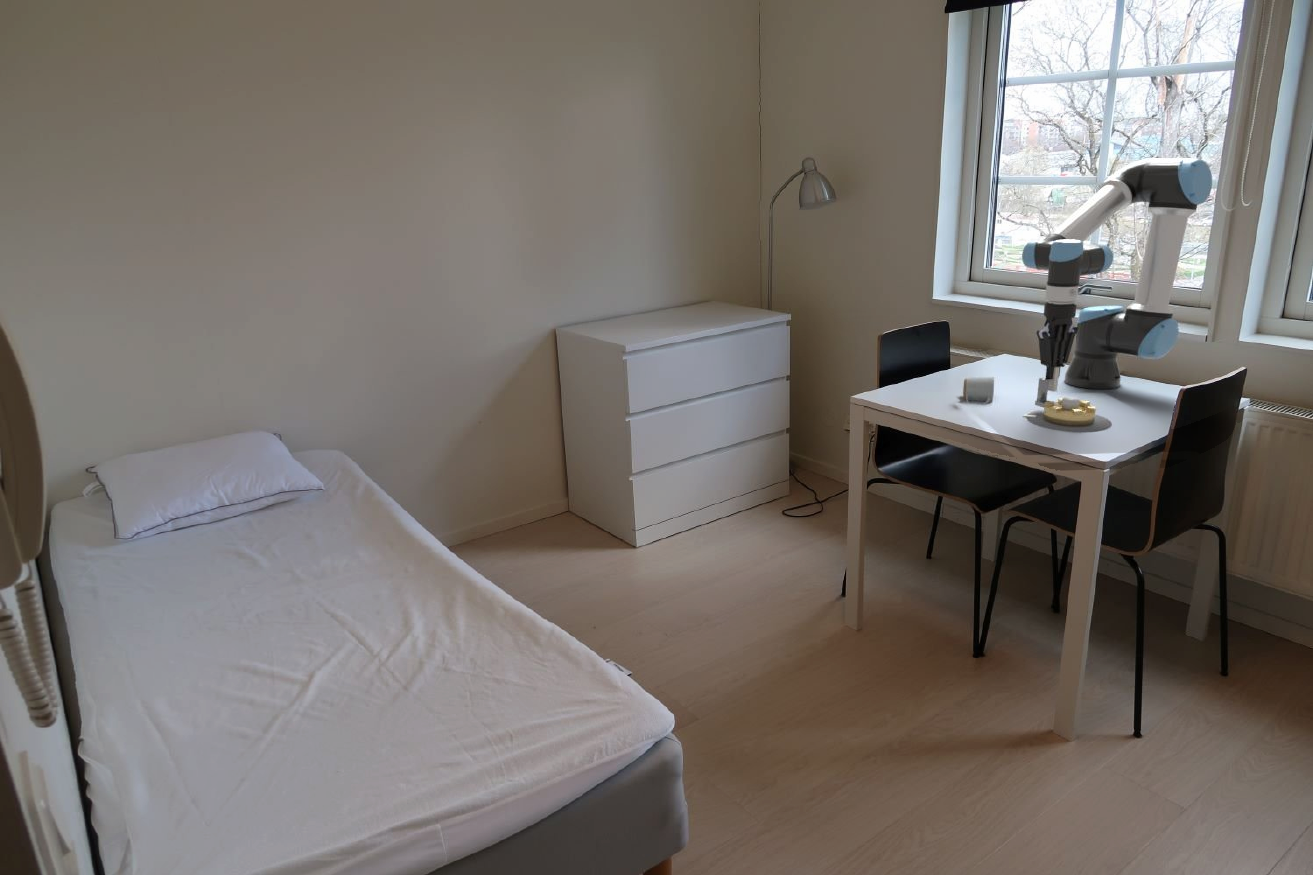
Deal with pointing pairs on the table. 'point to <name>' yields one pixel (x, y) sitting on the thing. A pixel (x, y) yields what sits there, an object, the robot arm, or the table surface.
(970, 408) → the table surface
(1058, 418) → the gold crank wheel
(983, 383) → the ceramic mug
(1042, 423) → the base
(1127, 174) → the robot arm
